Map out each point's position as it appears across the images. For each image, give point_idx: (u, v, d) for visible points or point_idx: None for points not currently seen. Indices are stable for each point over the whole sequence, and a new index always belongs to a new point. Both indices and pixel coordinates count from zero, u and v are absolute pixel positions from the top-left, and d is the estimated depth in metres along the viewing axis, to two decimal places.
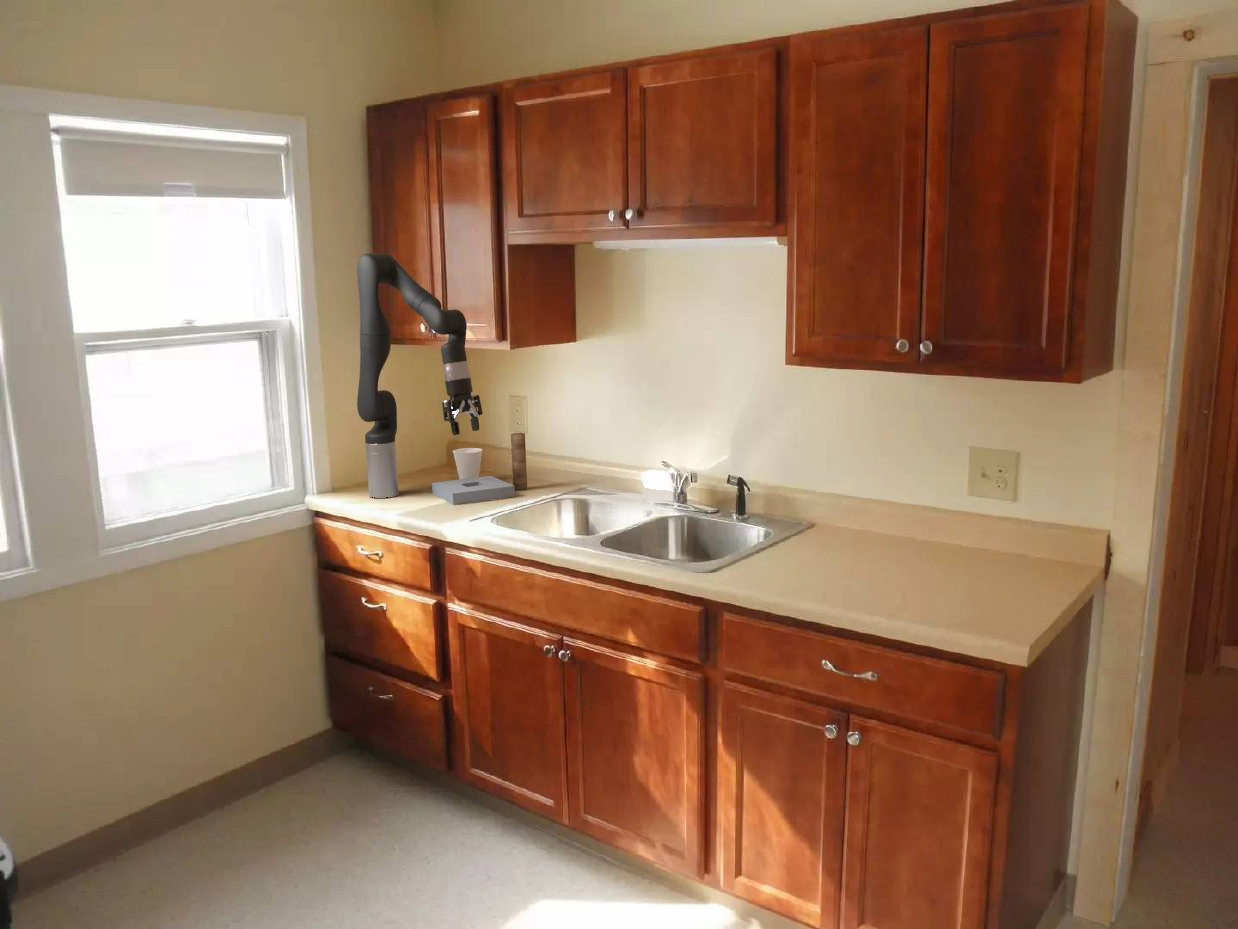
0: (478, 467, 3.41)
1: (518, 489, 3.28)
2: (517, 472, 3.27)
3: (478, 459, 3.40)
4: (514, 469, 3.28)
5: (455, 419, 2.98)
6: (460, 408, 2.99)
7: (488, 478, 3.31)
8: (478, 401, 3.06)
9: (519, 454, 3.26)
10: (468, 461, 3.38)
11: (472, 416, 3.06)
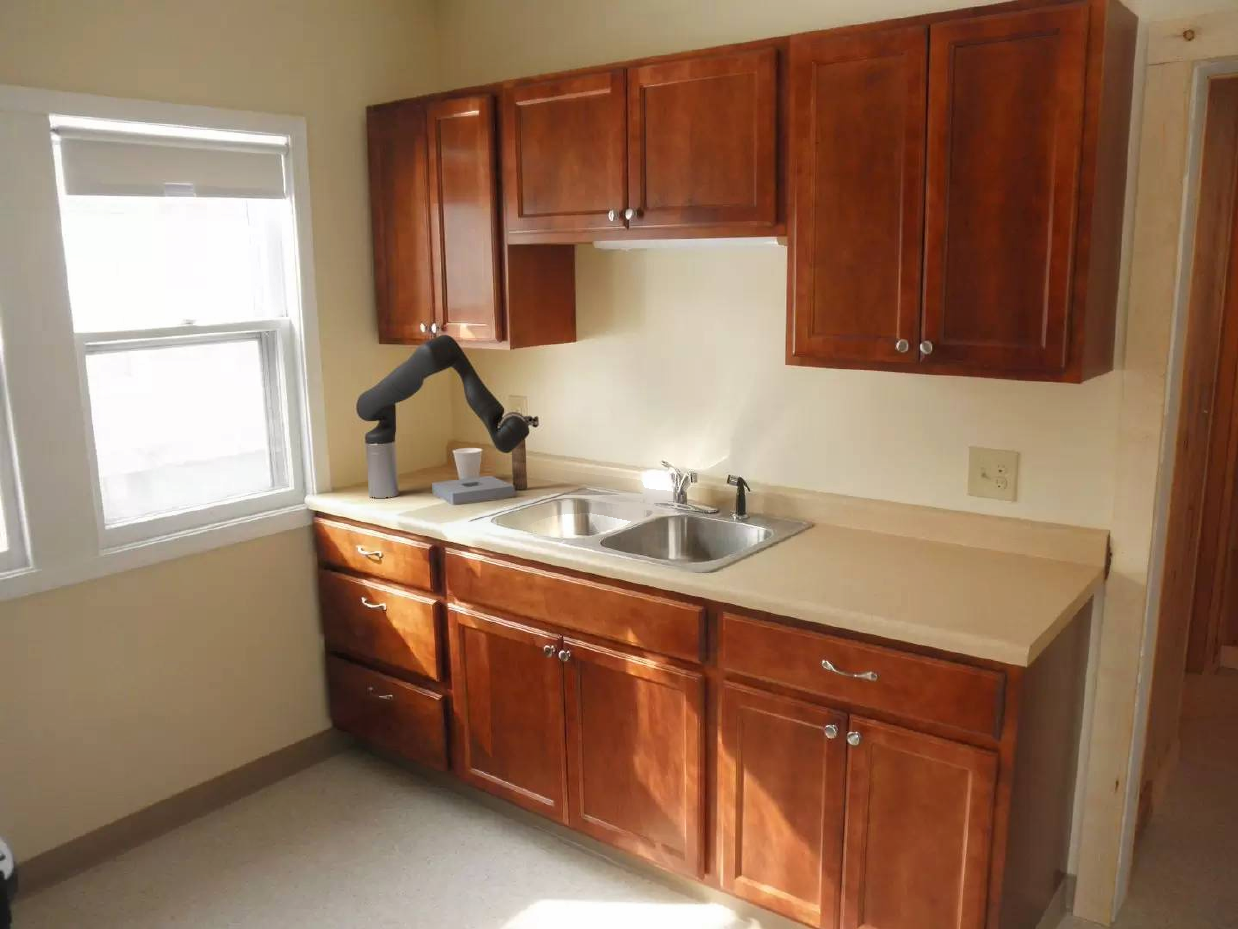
0: (478, 467, 3.41)
1: (518, 489, 3.28)
2: (517, 472, 3.27)
3: (478, 459, 3.40)
4: (514, 469, 3.28)
5: None
6: None
7: (488, 478, 3.31)
8: None
9: (519, 454, 3.26)
10: (468, 461, 3.38)
11: (528, 419, 3.11)
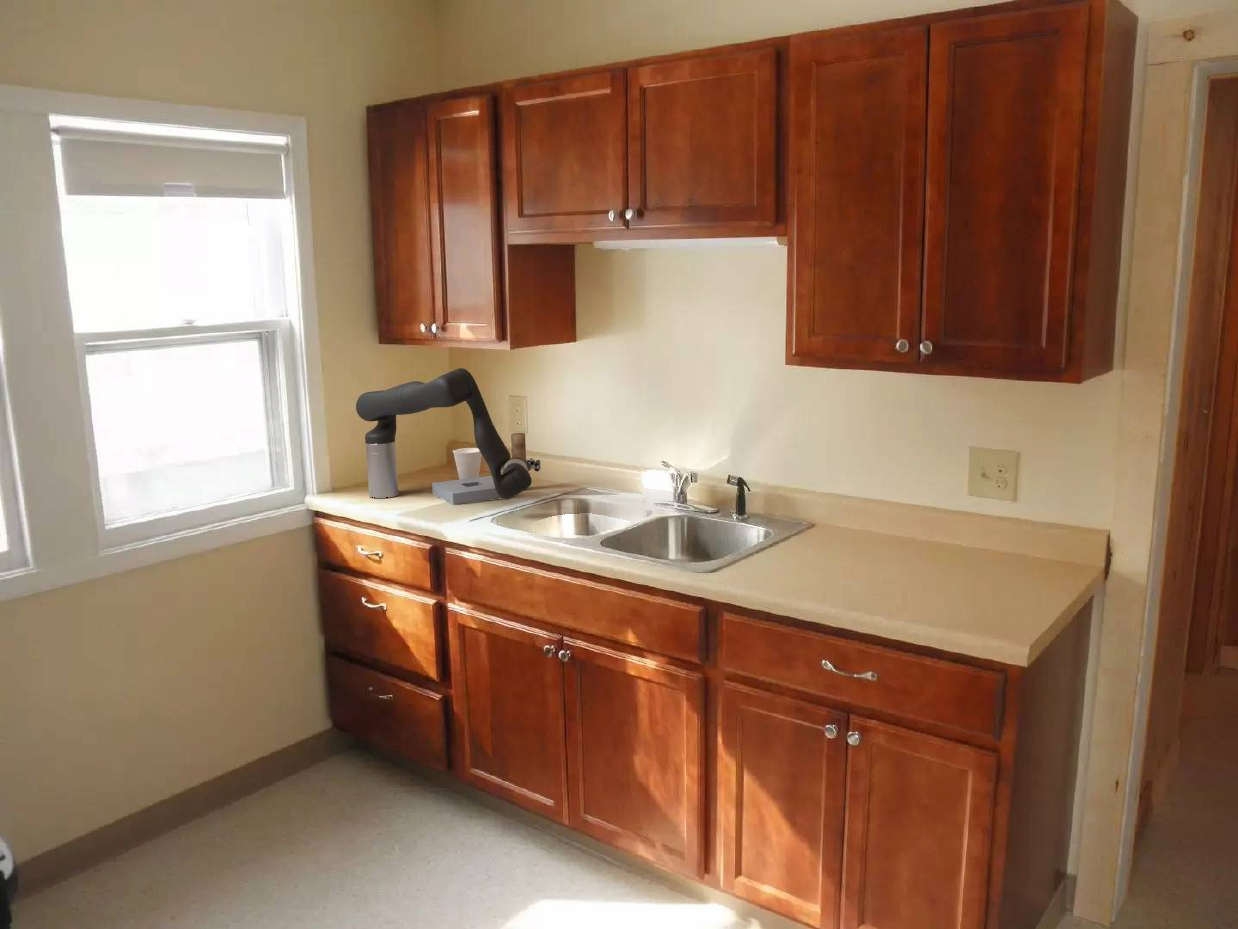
0: (478, 467, 3.41)
1: None
2: None
3: (478, 459, 3.40)
4: None
5: None
6: None
7: (488, 478, 3.31)
8: None
9: (519, 454, 3.26)
10: (468, 461, 3.38)
11: (530, 462, 3.19)
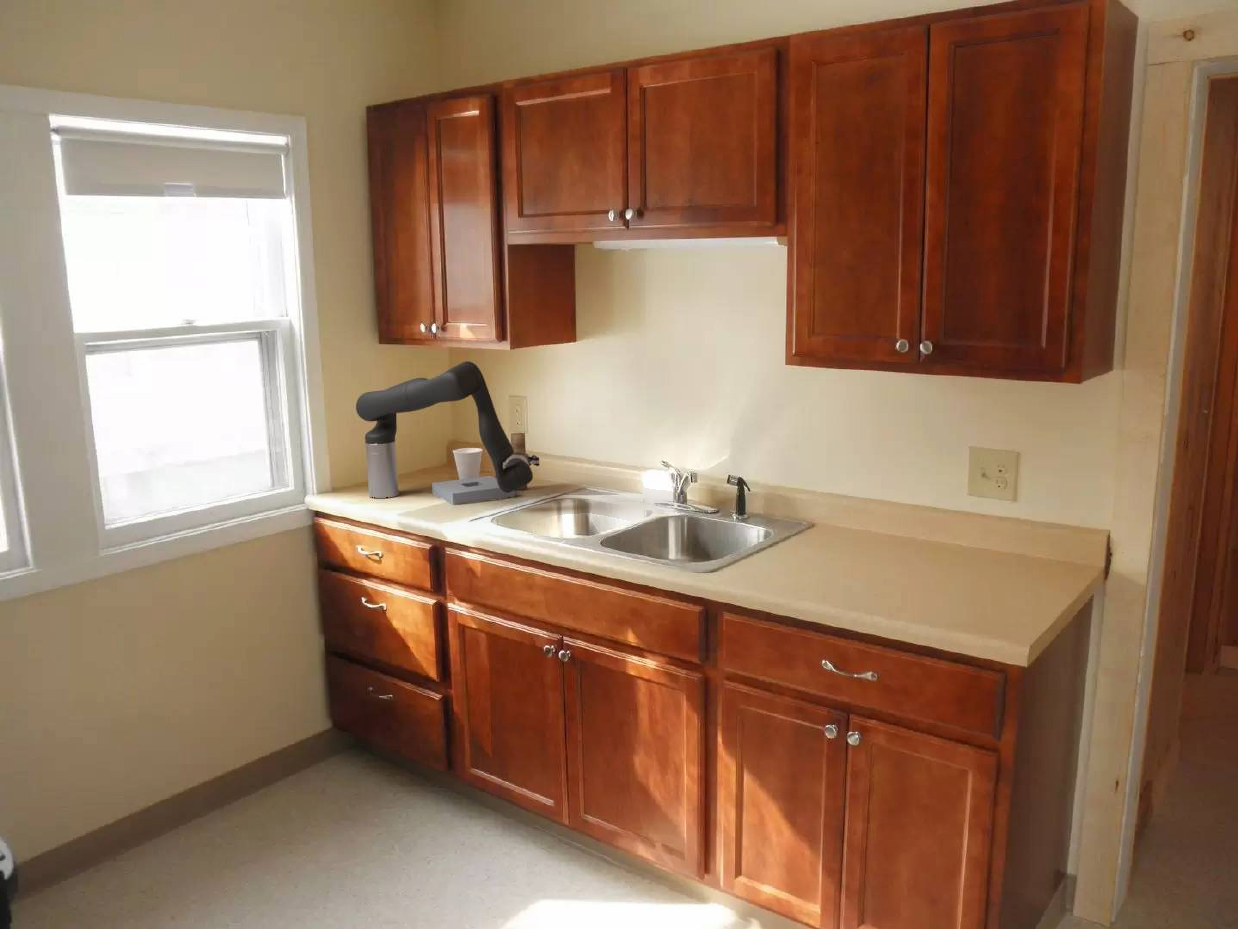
0: (478, 467, 3.41)
1: (518, 489, 3.28)
2: None
3: (478, 459, 3.40)
4: None
5: None
6: None
7: (488, 478, 3.31)
8: None
9: None
10: (468, 461, 3.38)
11: None
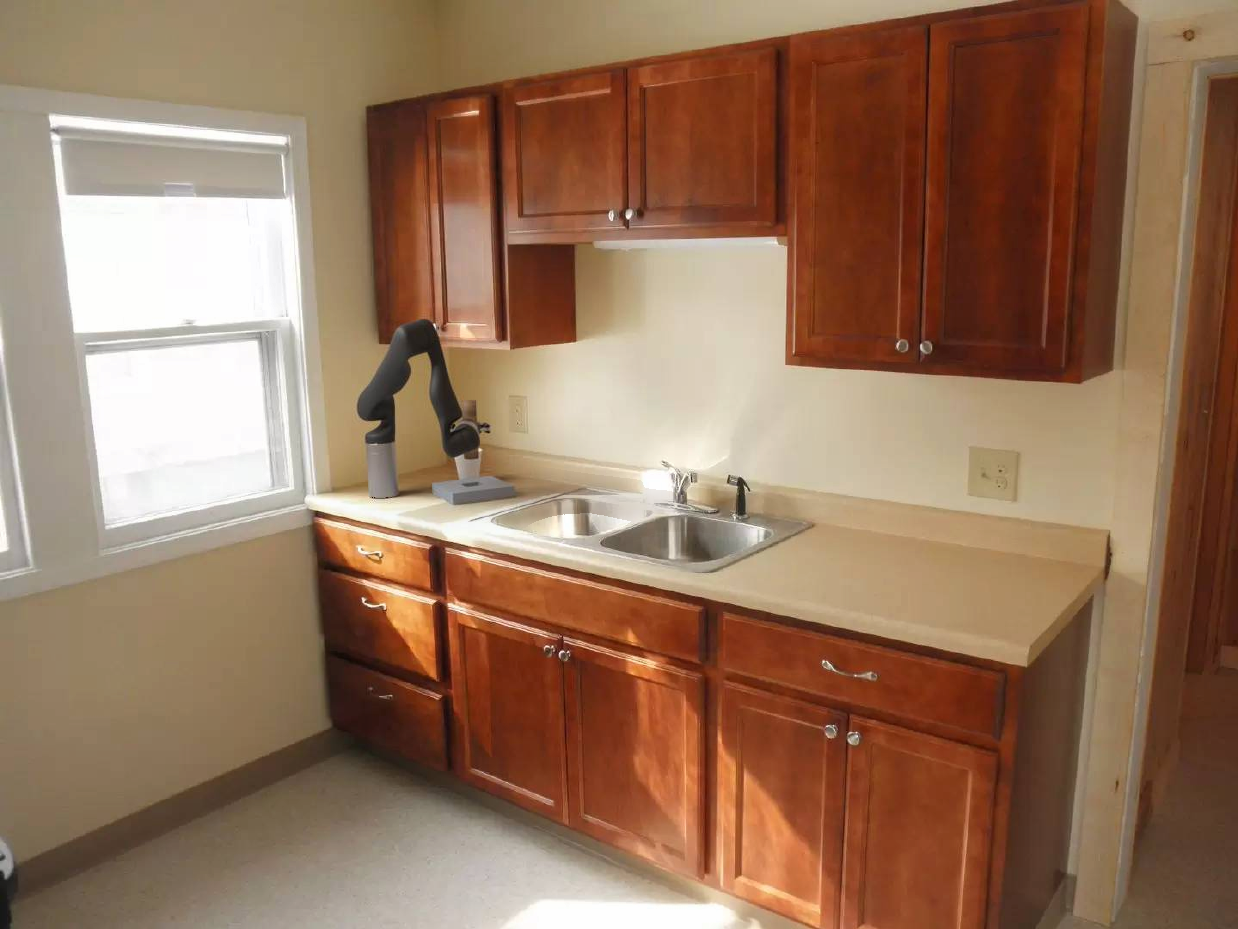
0: (478, 467, 3.41)
1: (469, 458, 3.19)
2: None
3: (478, 459, 3.40)
4: None
5: None
6: None
7: (488, 478, 3.31)
8: None
9: None
10: (468, 461, 3.38)
11: None
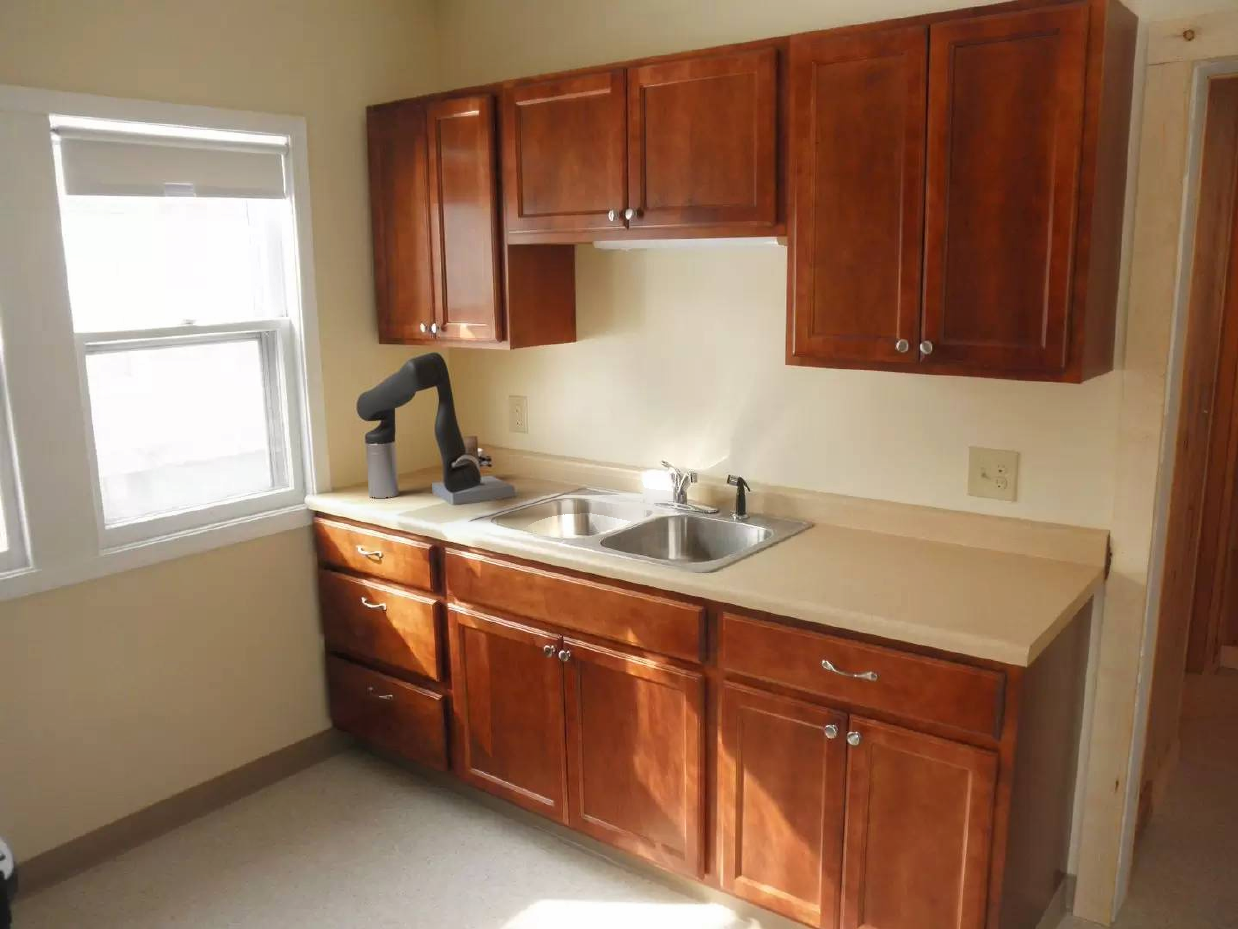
0: None
1: None
2: None
3: None
4: None
5: None
6: None
7: (488, 478, 3.31)
8: None
9: None
10: None
11: (480, 458, 3.19)
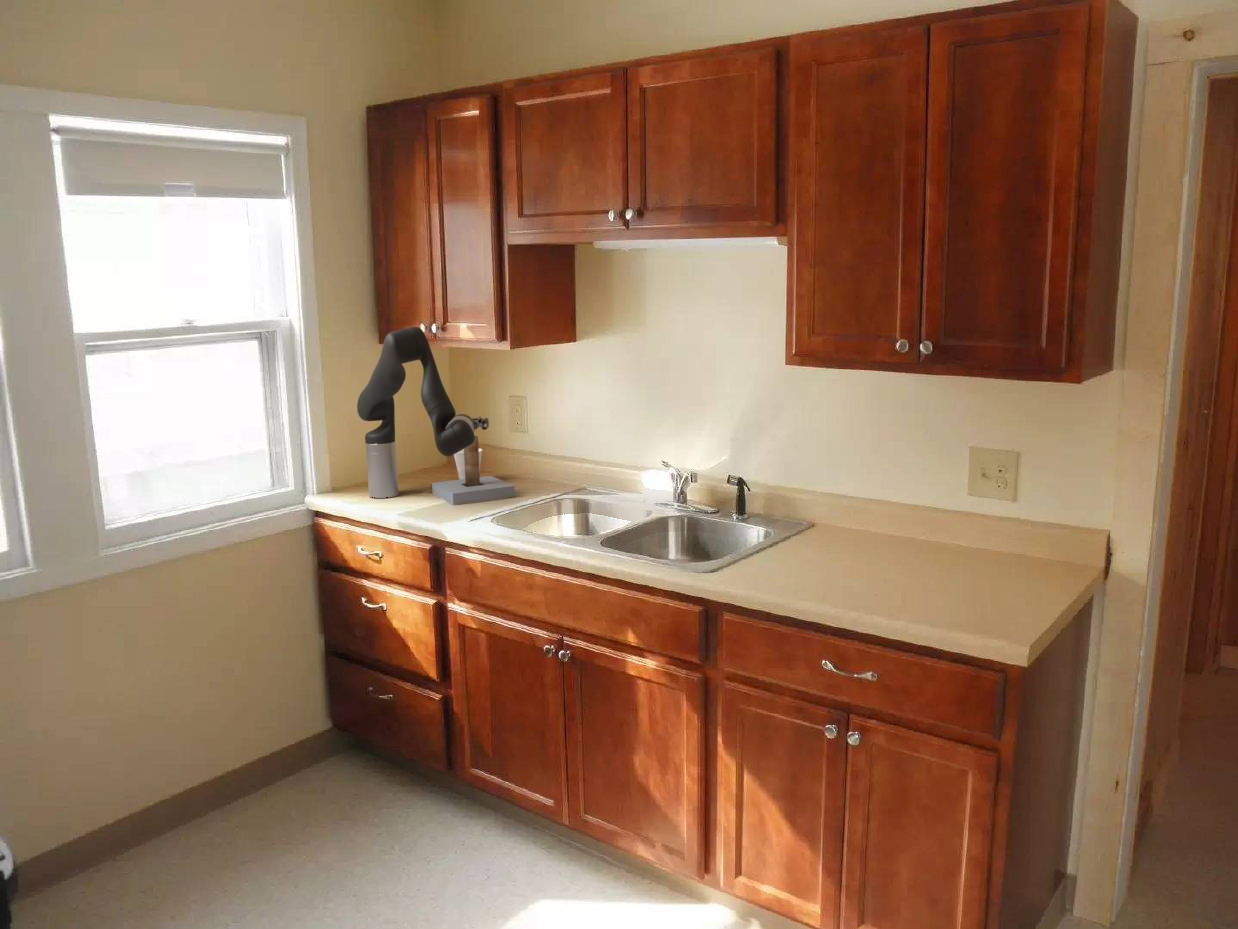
0: None
1: None
2: (469, 476, 3.20)
3: None
4: (467, 473, 3.20)
5: None
6: None
7: (488, 478, 3.31)
8: None
9: (471, 458, 3.19)
10: None
11: (478, 421, 3.04)
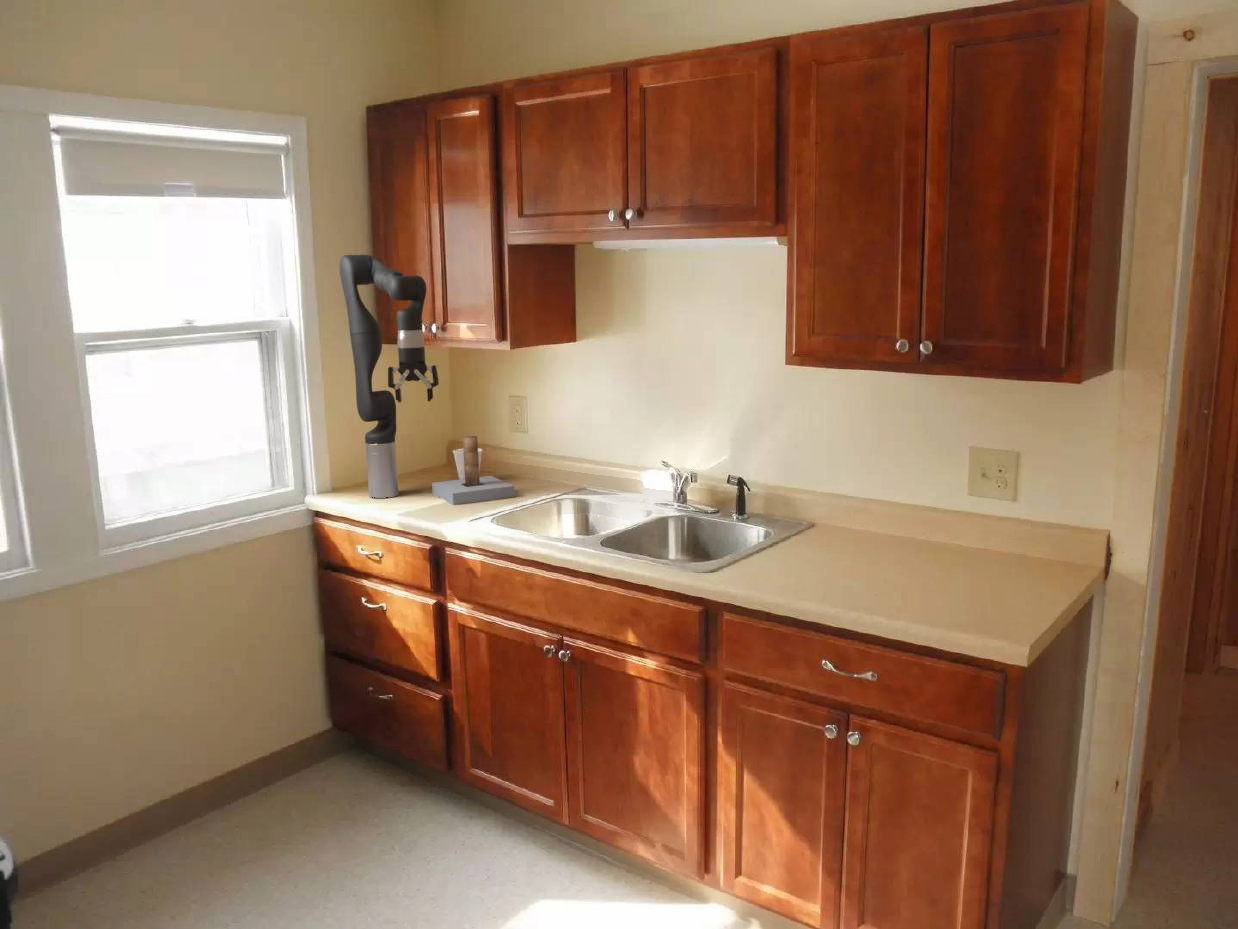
0: None
1: None
2: (469, 476, 3.20)
3: (478, 459, 3.40)
4: (466, 473, 3.20)
5: (395, 387, 2.97)
6: (402, 377, 2.96)
7: (488, 478, 3.31)
8: (433, 372, 2.97)
9: (471, 458, 3.19)
10: None
11: None
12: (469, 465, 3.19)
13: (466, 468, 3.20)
